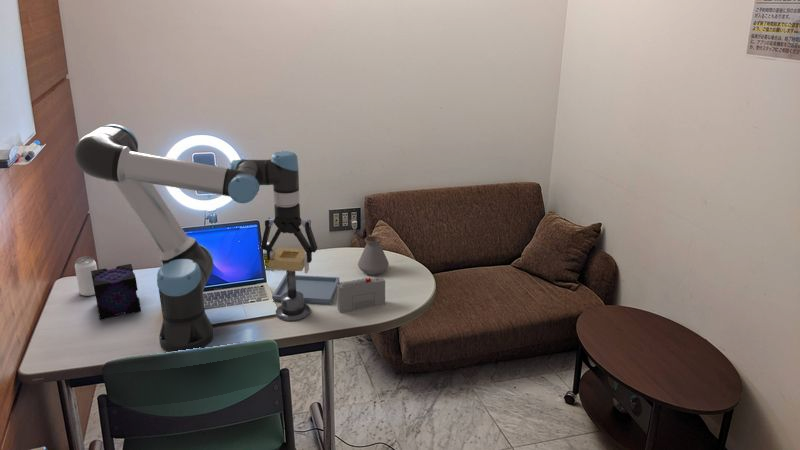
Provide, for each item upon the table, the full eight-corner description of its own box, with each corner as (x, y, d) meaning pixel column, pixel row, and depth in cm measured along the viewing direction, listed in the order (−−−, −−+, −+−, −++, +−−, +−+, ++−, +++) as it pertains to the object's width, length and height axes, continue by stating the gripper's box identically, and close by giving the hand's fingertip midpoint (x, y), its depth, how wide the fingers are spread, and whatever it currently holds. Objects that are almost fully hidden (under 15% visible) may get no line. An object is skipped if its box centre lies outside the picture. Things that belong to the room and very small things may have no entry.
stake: (305, 322, 187) (303, 275, 181) (271, 320, 188) (268, 273, 182) (313, 305, 197) (311, 260, 191) (281, 303, 198) (278, 258, 192)
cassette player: (382, 301, 201) (382, 274, 197) (385, 304, 198) (385, 277, 195) (337, 309, 195) (336, 281, 192) (339, 313, 193) (339, 285, 189)
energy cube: (136, 295, 202) (131, 263, 197) (141, 311, 192) (135, 277, 188) (97, 303, 196) (90, 270, 192) (100, 320, 186) (93, 285, 182)
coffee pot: (391, 276, 219) (392, 238, 213) (360, 278, 216) (360, 240, 211) (380, 253, 238) (380, 218, 233) (351, 255, 236) (351, 220, 230)
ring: (301, 271, 181) (301, 262, 180) (269, 269, 182) (268, 260, 181) (310, 254, 193) (310, 246, 192) (280, 253, 193) (280, 244, 192)
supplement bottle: (268, 262, 228) (266, 239, 225) (276, 267, 224) (274, 243, 221) (256, 266, 225) (254, 243, 221) (263, 271, 221) (261, 247, 218)
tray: (330, 304, 198) (330, 299, 197) (272, 301, 199) (272, 296, 199) (339, 282, 213) (339, 277, 212) (285, 279, 215) (285, 274, 214)
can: (85, 298, 199) (79, 265, 195) (76, 292, 203) (69, 260, 199) (104, 291, 204) (99, 259, 200) (95, 286, 208) (89, 254, 204)
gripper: (326, 201, 182) (328, 267, 190) (254, 197, 183) (258, 263, 191) (321, 209, 175) (323, 277, 183) (246, 205, 176) (251, 273, 184)
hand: (290, 270), depth 187 cm, fingers closed on ring, 10 cm apart
